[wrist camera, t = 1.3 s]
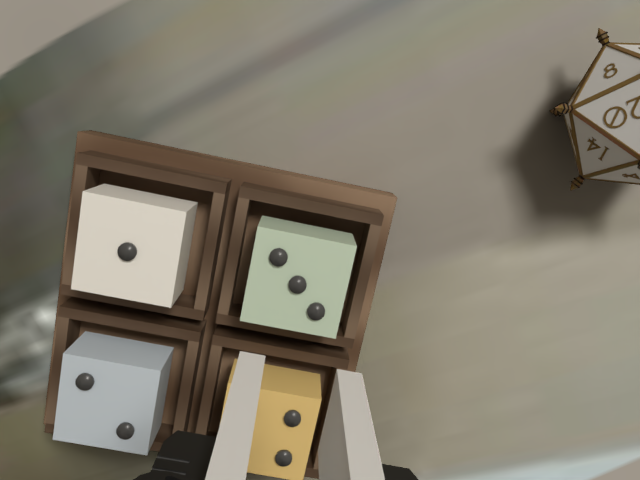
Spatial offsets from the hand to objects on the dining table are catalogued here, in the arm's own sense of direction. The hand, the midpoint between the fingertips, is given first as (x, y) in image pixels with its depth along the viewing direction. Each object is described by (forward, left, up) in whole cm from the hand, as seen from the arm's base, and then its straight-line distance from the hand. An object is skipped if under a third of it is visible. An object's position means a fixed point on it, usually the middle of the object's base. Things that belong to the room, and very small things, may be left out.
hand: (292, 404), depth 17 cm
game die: (+12, -16, -19) cm, 27 cm away
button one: (0, +8, -15) cm, 17 cm away
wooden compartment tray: (-4, +4, -18) cm, 19 cm away
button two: (-9, +9, -15) cm, 19 cm away
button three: (0, 0, -15) cm, 15 cm away
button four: (-9, 0, -15) cm, 17 cm away
